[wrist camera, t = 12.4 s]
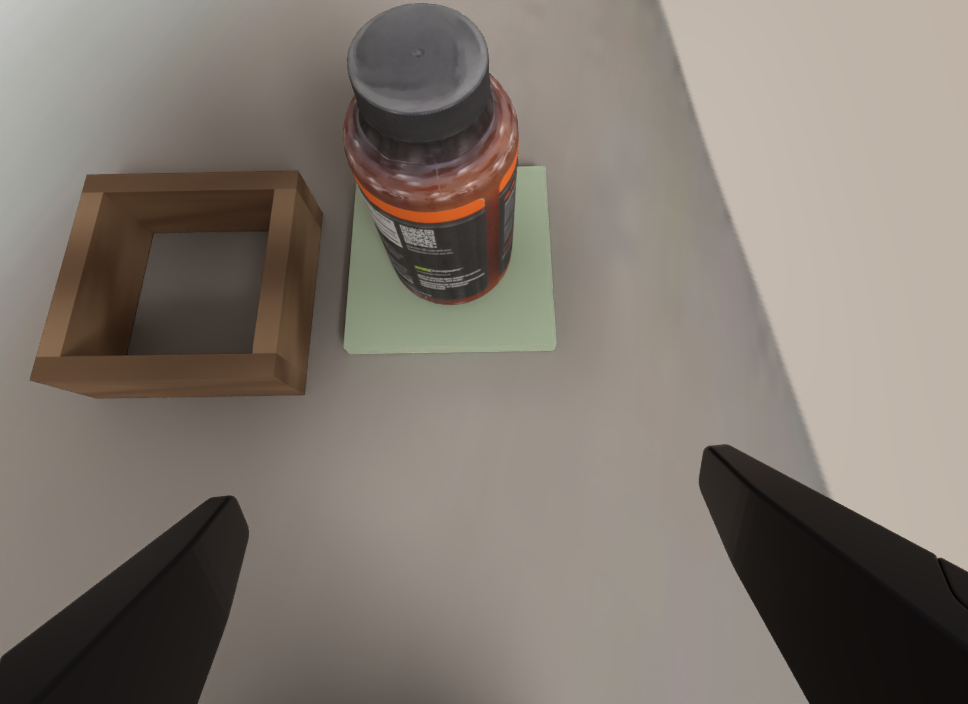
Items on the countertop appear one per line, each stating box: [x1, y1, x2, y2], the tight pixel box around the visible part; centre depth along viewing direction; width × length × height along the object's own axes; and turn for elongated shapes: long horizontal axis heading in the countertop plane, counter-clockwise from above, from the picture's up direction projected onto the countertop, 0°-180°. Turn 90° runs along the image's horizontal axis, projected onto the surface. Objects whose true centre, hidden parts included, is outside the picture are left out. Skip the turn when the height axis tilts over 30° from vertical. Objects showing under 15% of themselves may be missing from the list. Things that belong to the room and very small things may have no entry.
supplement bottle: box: [343, 3, 519, 305], centre depth 19 cm, size 6×6×11 cm
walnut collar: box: [30, 171, 323, 398], centre depth 23 cm, size 10×10×4 cm
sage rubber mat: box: [343, 166, 556, 354], centre depth 25 cm, size 10×10×1 cm
